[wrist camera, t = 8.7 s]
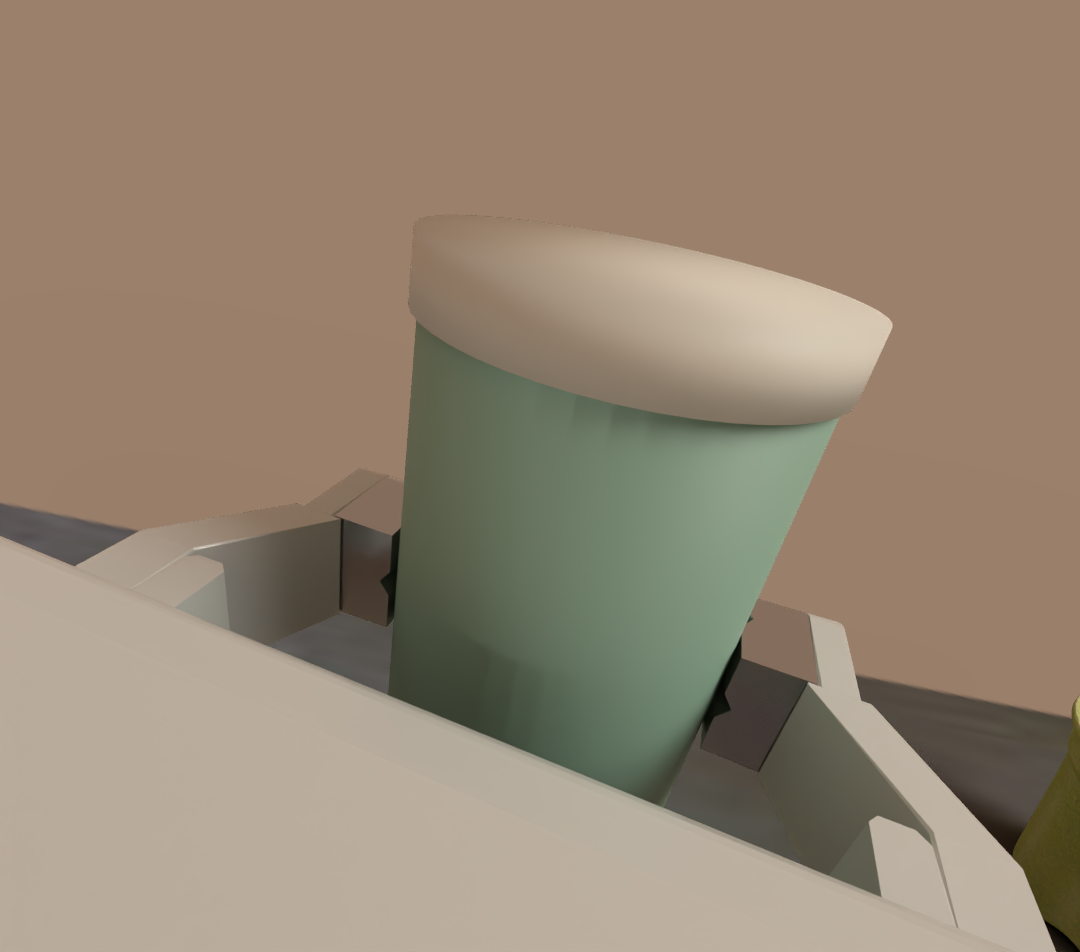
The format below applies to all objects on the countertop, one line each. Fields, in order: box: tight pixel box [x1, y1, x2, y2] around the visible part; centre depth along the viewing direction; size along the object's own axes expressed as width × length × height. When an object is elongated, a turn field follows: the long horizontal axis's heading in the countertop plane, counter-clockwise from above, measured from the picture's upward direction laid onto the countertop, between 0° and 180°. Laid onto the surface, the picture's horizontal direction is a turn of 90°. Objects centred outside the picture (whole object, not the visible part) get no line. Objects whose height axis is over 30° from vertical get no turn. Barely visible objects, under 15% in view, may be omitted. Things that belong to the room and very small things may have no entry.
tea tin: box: [388, 215, 892, 808], centre depth 10 cm, size 5×5×12 cm
